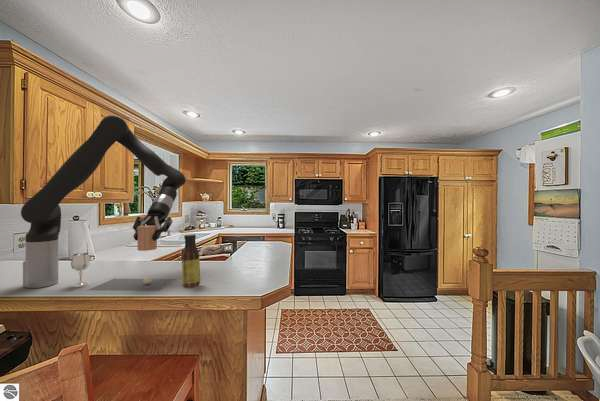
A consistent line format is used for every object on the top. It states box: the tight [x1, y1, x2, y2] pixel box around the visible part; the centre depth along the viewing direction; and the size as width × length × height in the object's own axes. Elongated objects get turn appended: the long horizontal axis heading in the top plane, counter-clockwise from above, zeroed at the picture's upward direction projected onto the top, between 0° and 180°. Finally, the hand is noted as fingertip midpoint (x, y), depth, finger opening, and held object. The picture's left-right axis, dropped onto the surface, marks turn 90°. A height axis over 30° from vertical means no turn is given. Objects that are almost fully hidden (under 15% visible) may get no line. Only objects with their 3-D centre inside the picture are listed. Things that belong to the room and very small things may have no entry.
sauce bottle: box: [181, 233, 201, 288], centre depth 103 cm, size 7×6×20 cm
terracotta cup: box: [137, 224, 158, 252], centre depth 103 cm, size 6×6×9 cm
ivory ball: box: [142, 276, 153, 285], centre depth 104 cm, size 3×3×3 cm
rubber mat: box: [87, 278, 177, 292], centre depth 104 cm, size 26×14×1 cm, turn 89°
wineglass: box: [70, 252, 91, 288], centre depth 104 cm, size 6×6×12 cm
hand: (144, 239), depth 102 cm, fingers closed on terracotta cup, 6 cm apart
